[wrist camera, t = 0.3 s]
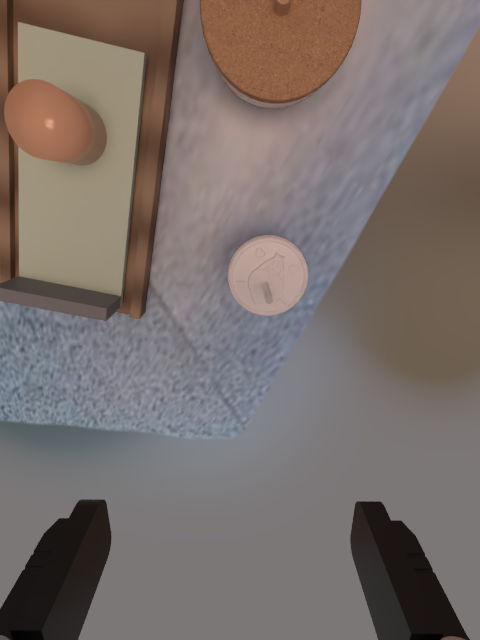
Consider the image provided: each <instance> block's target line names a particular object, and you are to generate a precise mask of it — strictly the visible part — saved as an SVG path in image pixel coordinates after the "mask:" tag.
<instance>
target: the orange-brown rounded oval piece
mask: <svg viewBox="0 0 480 640" xmlns="http://www.w3.org/2000/svg"><path fill="white" fill-rule="evenodd" d="M4 117H5V123H6V126H7V129H8V131H9V133H10V135H11V137H12V139H13V140H14V141H15V143H16V144H17V145H18V146H19V147H20V148H21V149H22V150H23V151H25V152H26V153H28V154H29V155H31V156H33V157H36V158H39V159H44V160H50V161H56V162H62V163H68V164H74V165H89V164H92V163H94V162H95V161H97V160H98V159H99V158H100V157H101V155H102V154H103V152H104V150H105V147H106V142H107V134H106V129H105V125H104V123H103V121H102V119H101V117H100V116H99V114H98V113H97V112H96V111H95V110H94V109H93V108H92V107H90V106H89V105H87V104H86V103H84V102H82V101H80V100H79V99H77V98H75V97H73V96H72V95H70V94H68V93H66V92H65V91H63V90H61V89H60V88H58V87H56V86H54V85H53V84H51V83H49V82H46V81H43V80H39V79H28V80H24V81H22V82H20V83H18V84H17V85H15V86H14V87H13V88H12V89H11V91H10V92H9V94H8V96H7V98H6V101H5V106H4Z"/></svg>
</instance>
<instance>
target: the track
mask: <svg viewBox="0 0 480 640" xmlns="http://www.w3.org/2000/svg"><path fill="white" fill-rule="evenodd" d="M182 7H183V0H0V283H2V282H5V281H8V280H10V279H13V278H16V277H18V276H19V166H18V145H17V144H16V143H15V141H14V140H13V139H12V137H11V135H10V133H9V131H8V129H7V126H6V123H5V117H4V106H5V101H6V98H7V96H8V94H9V92H10V91H11V89H12V88H13V87H14V86H15V85H17V84H18V22H20V23H25V24H29V25H33V26H37V27H41V28H45V29H49V30H53V31H57V32H61V33H65V34H69V35H74V36H78V37H82V38H86V39H90V40H94V41H98V42H102V43H106V44H110V45H114V46H118V47H123V48H127V49H131V50H135V51H139V52H143V53H145V54H146V56H147V62H146V72H145V83H144V93H143V103H142V113H141V123H140V133H139V143H138V153H137V163H136V173H135V183H134V193H133V203H132V213H131V223H130V233H129V243H128V254H127V264H126V274H125V284H124V294H123V304H122V306H121V307H120V308H119V309H118V310H117V311H116V312H120V313H125V314H130V317H131V318H136V319H140V318H141V316H142V315H143V314H144V313H145V308H146V300H147V291H148V283H149V275H150V267H151V259H152V251H153V243H154V235H155V226H156V218H157V210H158V202H159V194H160V186H161V178H162V170H163V162H164V153H165V145H166V137H167V129H168V121H169V113H170V105H171V97H172V88H173V80H174V72H175V64H176V56H177V48H178V40H179V32H180V23H181V15H182Z"/></svg>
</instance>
